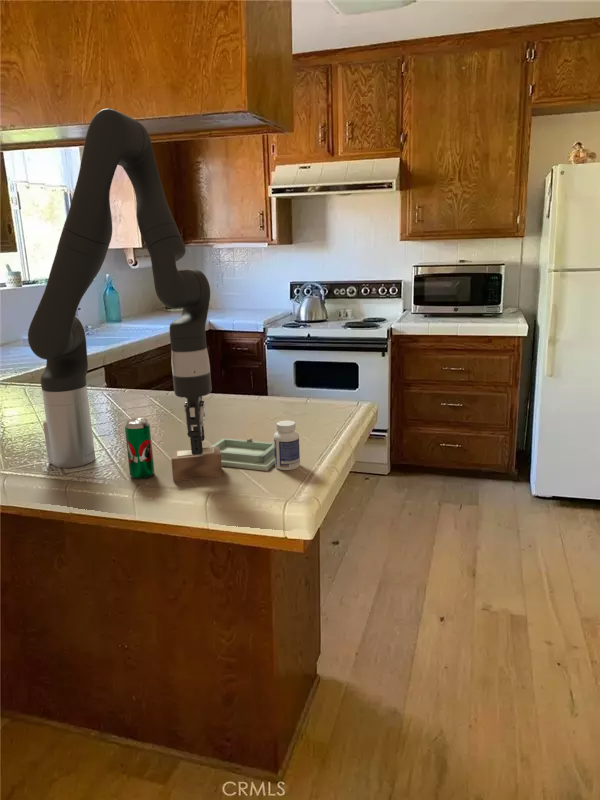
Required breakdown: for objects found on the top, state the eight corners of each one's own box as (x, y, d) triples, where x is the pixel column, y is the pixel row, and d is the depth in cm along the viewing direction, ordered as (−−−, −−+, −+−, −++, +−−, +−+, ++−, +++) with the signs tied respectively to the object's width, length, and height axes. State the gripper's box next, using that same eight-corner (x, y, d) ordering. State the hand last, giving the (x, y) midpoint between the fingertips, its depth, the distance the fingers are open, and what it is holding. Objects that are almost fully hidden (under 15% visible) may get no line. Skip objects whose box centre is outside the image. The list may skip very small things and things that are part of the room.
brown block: (173, 481, 126) (171, 458, 125) (173, 473, 131) (171, 450, 130) (222, 477, 128) (220, 453, 127) (220, 468, 133) (219, 445, 132)
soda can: (156, 470, 132) (151, 416, 129) (152, 479, 127) (146, 423, 124) (133, 471, 132) (127, 417, 129) (127, 480, 127) (121, 424, 124)
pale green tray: (196, 463, 136) (195, 450, 135) (218, 446, 146) (218, 434, 145) (267, 470, 130) (266, 457, 129) (285, 453, 140) (285, 441, 139)
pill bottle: (305, 465, 133) (303, 422, 130) (288, 472, 129) (286, 428, 126) (286, 460, 136) (285, 417, 134) (269, 467, 132) (267, 423, 130)
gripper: (208, 377, 118) (215, 457, 122) (211, 362, 131) (217, 435, 136) (169, 380, 117) (177, 460, 121) (175, 365, 131) (182, 437, 135)
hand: (198, 447), depth 128 cm, fingers open, 8 cm apart
